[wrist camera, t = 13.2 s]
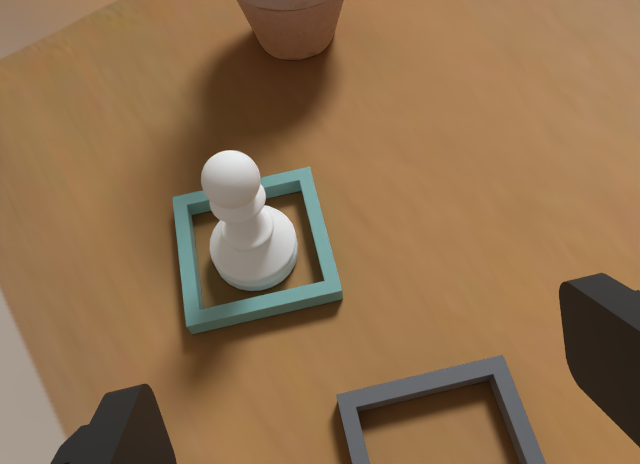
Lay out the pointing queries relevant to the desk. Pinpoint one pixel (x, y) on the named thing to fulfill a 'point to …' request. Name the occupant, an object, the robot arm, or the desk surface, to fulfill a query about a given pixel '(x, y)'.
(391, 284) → the desk surface
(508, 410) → the charcoal port
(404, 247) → the desk surface
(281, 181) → the frame
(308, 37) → the potted plant
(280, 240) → the chess pawn
